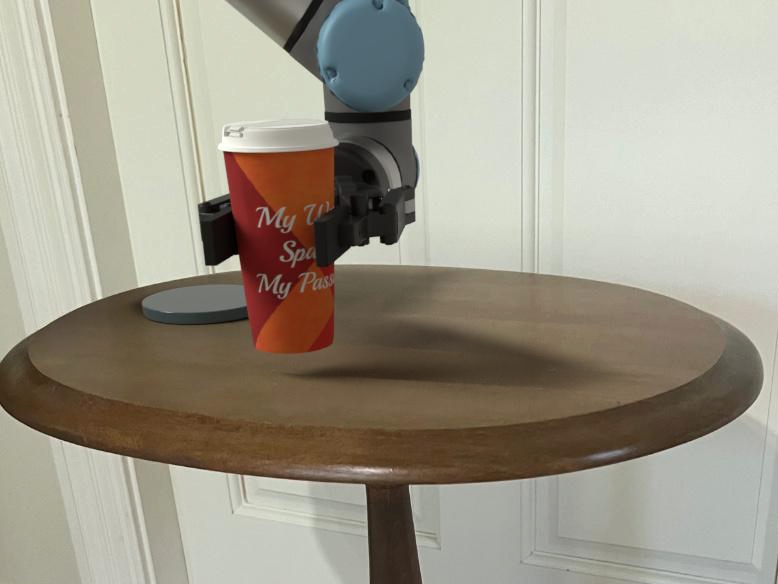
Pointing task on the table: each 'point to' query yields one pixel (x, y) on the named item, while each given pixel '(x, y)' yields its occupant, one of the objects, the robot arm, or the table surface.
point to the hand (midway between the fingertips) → (264, 243)
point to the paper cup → (282, 228)
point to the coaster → (197, 304)
